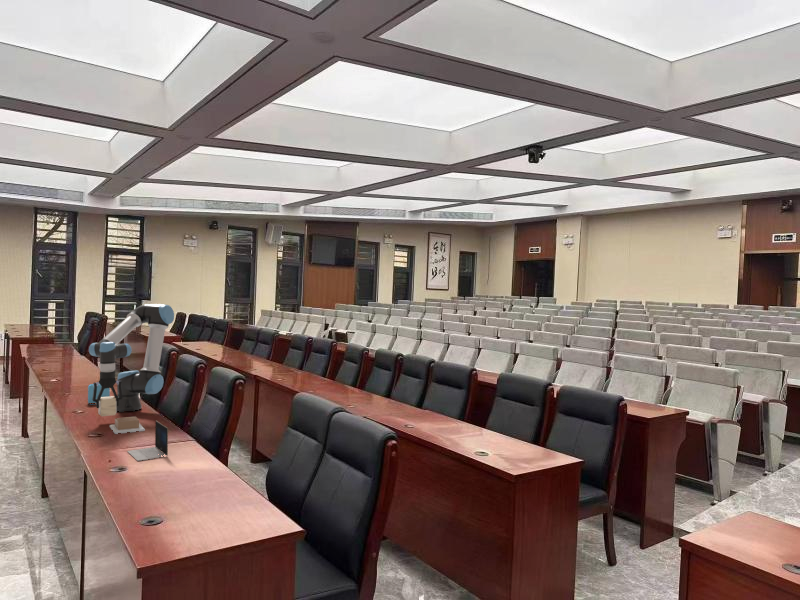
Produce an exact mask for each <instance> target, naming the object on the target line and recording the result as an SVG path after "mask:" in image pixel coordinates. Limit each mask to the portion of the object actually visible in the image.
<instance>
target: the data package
mask: <svg viewBox="0 0 800 600" xmlns="http://www.w3.org/2000/svg"><path fill="white" fill-rule="evenodd" d="M101 387H102V386H101V385H100V384H98V386H97V393H96V399H97V397H98V395H99V392H100V390H101ZM110 390H111V388H106V389H104V391H103V393H102V396H101V397H109V396H111V395H110V393H111V391H110ZM93 391H94V385H93V383H91V384H89V385H88V386H87V403H88V404H89V403H96V402H94V401H93V400H92V399H93Z"/></svg>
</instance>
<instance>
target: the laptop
mask: <svg viewBox="0 0 800 600" xmlns="http://www.w3.org/2000/svg"><path fill="white" fill-rule="evenodd" d="M154 430H155V437H154V438H155V441H154V446H152V447H146V448H138V449H131V450H127V451H126V452H127V453H128V454H129V455H131V456H132V458H134V459H135V460H136V461H137V462H142V460H143V461H148V459H150V460H155V459H154V458H159V457H161V455H162V456H163V455H164V454H165V455H167V457H168V455H169V452H168V451H169V450H168V449H169V448H168V447H169V427H167V426H166V425H163V424H162V423H161V422H159V421H158V420H155V429H154ZM158 454H159V455H158ZM163 457H164V456H163ZM159 459H160V458H159Z"/></svg>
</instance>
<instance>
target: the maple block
mask: <svg viewBox="0 0 800 600" xmlns="http://www.w3.org/2000/svg"><path fill="white" fill-rule="evenodd" d="M99 402H101V414H100V417H107V416H110V417H111V416H116V415H117V413H116V398H115V396H114V395H110V396H109V397H101V398H100V401H99Z"/></svg>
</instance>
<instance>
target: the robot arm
mask: <svg viewBox="0 0 800 600" xmlns="http://www.w3.org/2000/svg"><path fill="white" fill-rule="evenodd" d="M174 319H175V312H174V310H173V308H172V306H171V305H169V304H163V303H158V304H157V303H145V304H142V305H139V306H138V307H135V308H134V309H132V310H131V311H130V312H129V313H127V315H126V318H125V319H124V320H123V321H121V322H119V323H118V325H117V326H115V327H114V328H113V329H112V330H111V331H110V332H109V333H108V334H107V335H105V336H104V337H103V338H102V339H101V340H99V342H92V343H91V344H90V345H89V346H88V352H89V355H90V356H93V357H97V358H98V357H99V380H98V381H97V382H95V381H94V382H92V384H93V385H94V391H93V399H92V400H93V401H94V402H96V404H95V408H96V409H97V410H98V413H97V414H98V415H100V414H101V402H99V401H100V398H101V396H102V393H103V391H104V389H106V388H110V390H111V392H112V394H113V396H114V397H115V398H116V414H117V413H118V412H117V411H119V413H125V412H124V411H133V412H136V411H135V410H138V411H140V410H139V409H141V408H142V407H143V405H142V402H141V400H140V396H139V395H140V394H144V395H145V394H147V395H155V394H158V393H159V392H160V391H161V390H162V388H163V387H164V382H165V381H164V376H163V375H161V373H162V371H161V370H160V362H161V356H162V351H163V345H164V339H165V333H166V330H167V329H168V328H169V325H170V324H172V323H174ZM142 324H147V326H148V327H149V332H148V338H147V343H146V349H145V356H144V361H143V367H142V368H141V369H139V370H128V371H127V370H126V371H123V372H122V371H121V372H119V373H118V374H117V380H116V359H121V358H126V357H129V356H130V355H131V354H132V352H133V351H132V349H133V348H132V346H131V345H130V344H129V343H120V342H121V341H123V339H125V338H126V337H127V336H128V335H129V334H130V333H132V331H133V330H135V328H139V327H140V326H141V325H142ZM98 384H100V385H101V386H102V387H101V390H100V392H99V395H98V397H97V399H96V393H97V386H98ZM115 384H116V385H117V386H116V387H117V388H116V389H117V392H116V390H115V387H114V385H115ZM142 409H143V408H142ZM142 409H141V410H142ZM100 416H101V415H100Z"/></svg>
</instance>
